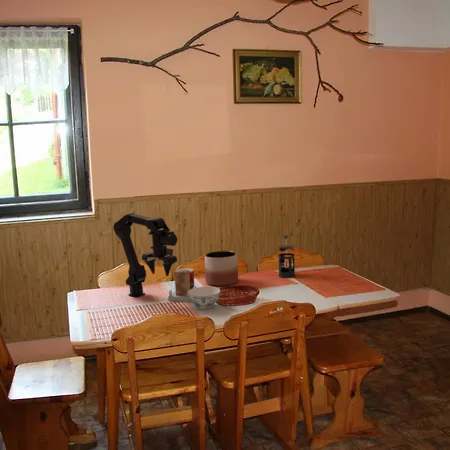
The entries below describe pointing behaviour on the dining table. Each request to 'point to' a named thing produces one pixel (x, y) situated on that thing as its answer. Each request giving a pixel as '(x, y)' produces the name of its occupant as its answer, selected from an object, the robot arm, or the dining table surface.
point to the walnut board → (182, 282)
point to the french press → (282, 270)
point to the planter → (221, 268)
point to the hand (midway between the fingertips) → (160, 274)
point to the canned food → (191, 275)
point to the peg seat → (178, 297)
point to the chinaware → (204, 296)
